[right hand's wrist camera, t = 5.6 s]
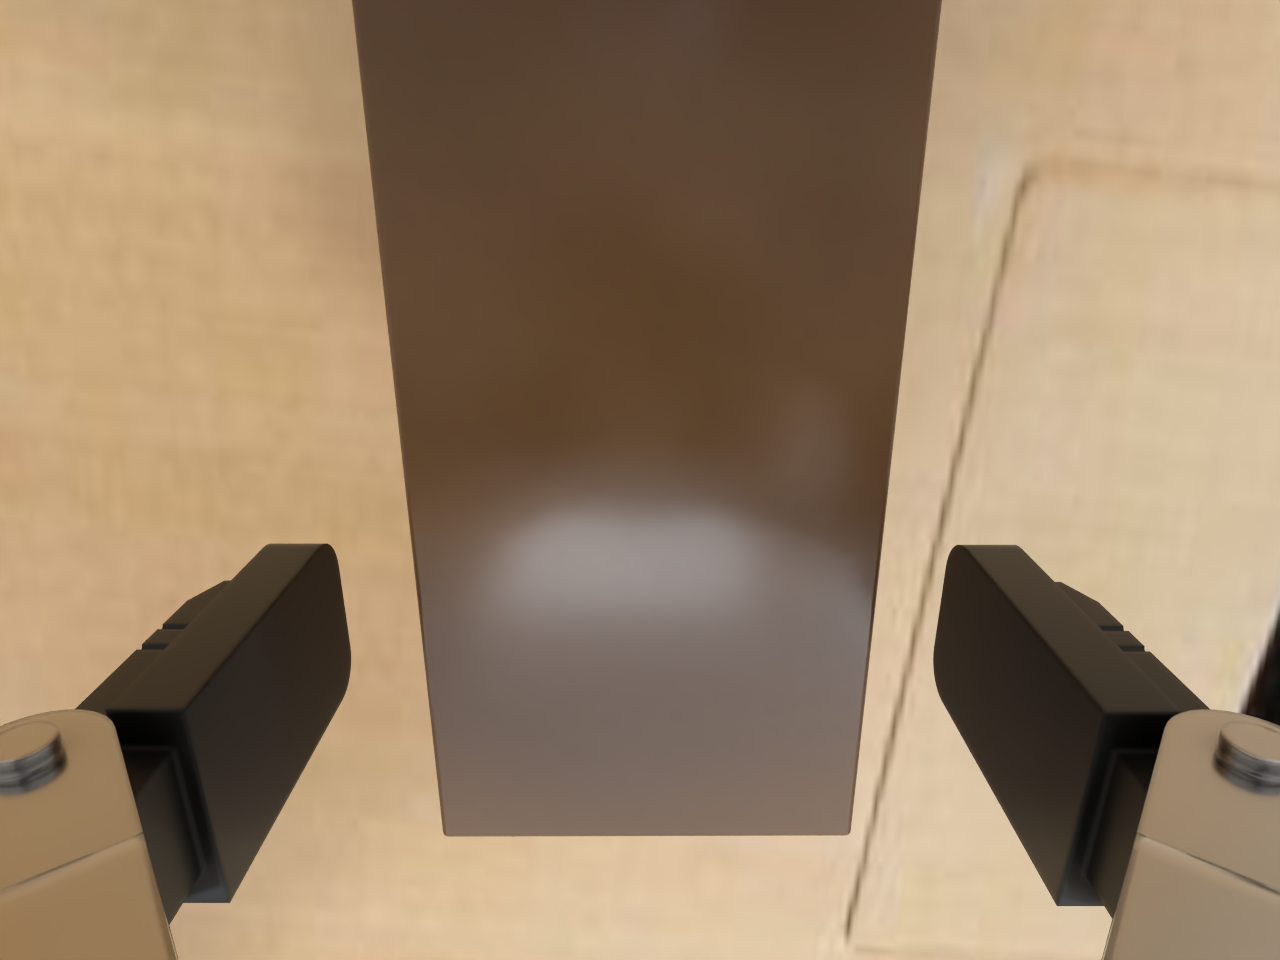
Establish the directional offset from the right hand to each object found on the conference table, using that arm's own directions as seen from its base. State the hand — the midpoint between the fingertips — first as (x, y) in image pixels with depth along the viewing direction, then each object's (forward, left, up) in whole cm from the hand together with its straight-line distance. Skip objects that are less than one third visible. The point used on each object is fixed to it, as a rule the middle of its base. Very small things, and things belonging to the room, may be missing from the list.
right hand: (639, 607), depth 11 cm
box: (+2, +7, -11) cm, 13 cm away
